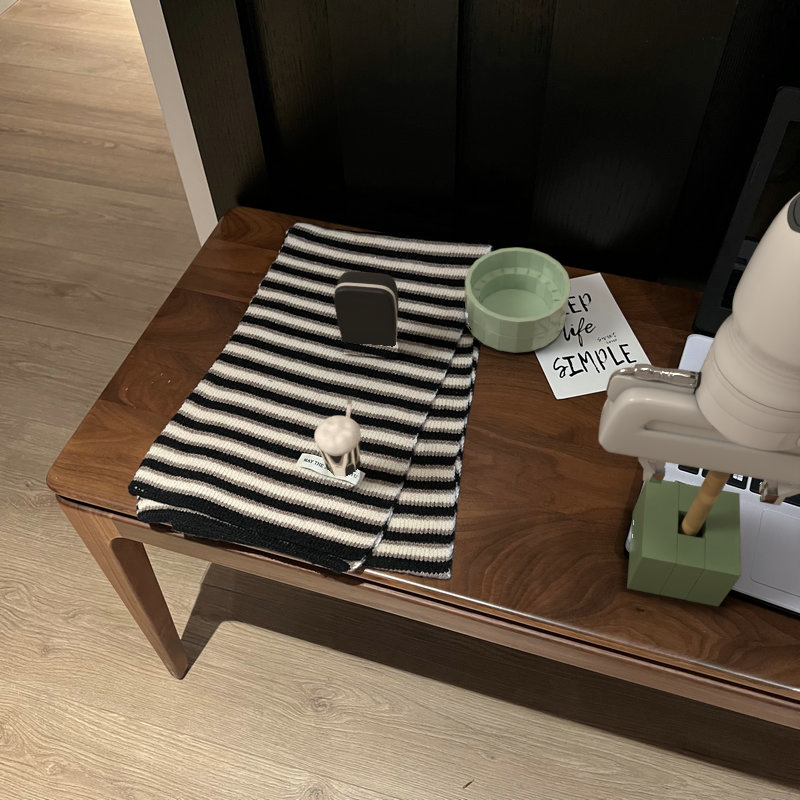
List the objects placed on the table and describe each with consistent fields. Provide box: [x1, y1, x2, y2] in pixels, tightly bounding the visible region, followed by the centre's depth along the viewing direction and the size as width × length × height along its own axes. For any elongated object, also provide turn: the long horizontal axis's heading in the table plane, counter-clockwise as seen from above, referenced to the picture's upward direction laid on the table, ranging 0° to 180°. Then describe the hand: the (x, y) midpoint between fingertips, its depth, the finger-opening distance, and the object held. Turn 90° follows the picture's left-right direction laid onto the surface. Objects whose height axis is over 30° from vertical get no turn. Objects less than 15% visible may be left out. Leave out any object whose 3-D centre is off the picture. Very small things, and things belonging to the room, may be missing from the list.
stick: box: [678, 470, 731, 537], centre depth 70 cm, size 2×2×16 cm
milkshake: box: [314, 399, 362, 477], centre depth 79 cm, size 5×5×10 cm
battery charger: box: [333, 270, 399, 347], centre depth 90 cm, size 7×4×11 cm, turn 81°
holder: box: [626, 479, 742, 607], centre depth 73 cm, size 8×8×7 cm
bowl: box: [463, 247, 572, 354], centre depth 93 cm, size 12×12×6 cm
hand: (709, 486), depth 65 cm, fingers open, 8 cm apart
